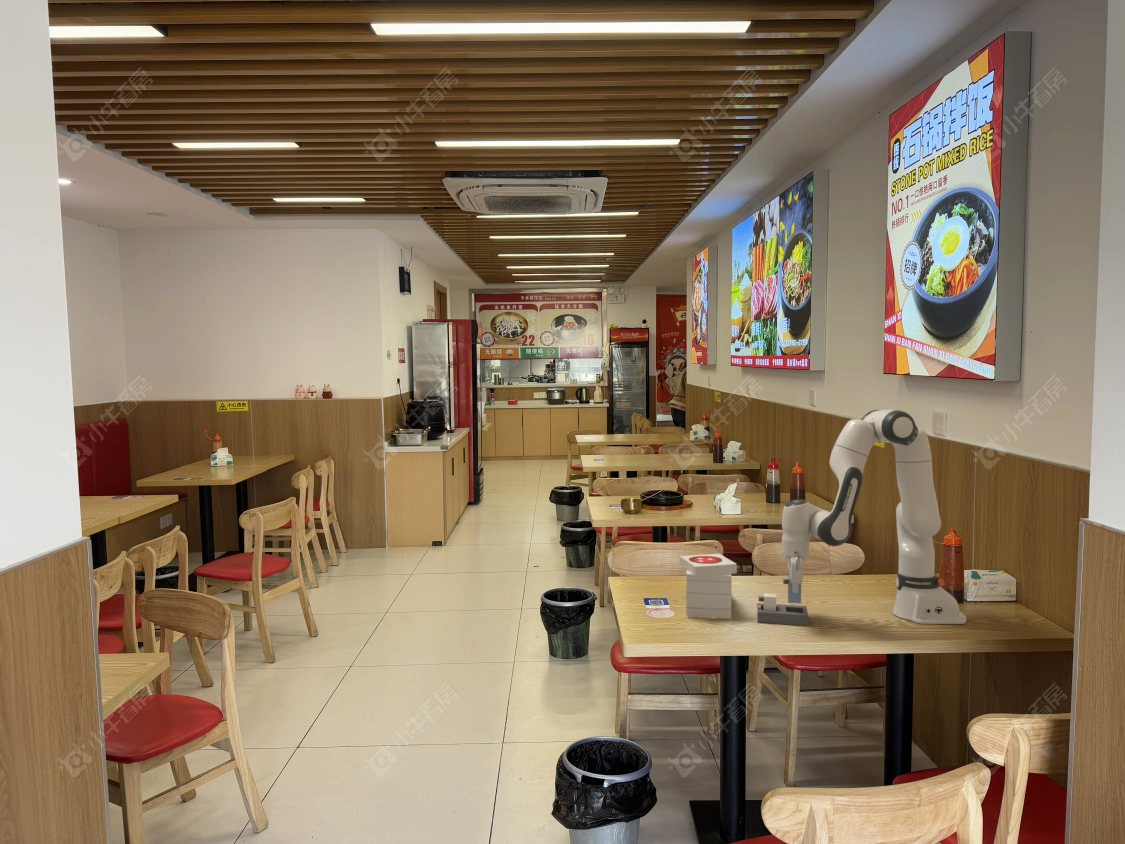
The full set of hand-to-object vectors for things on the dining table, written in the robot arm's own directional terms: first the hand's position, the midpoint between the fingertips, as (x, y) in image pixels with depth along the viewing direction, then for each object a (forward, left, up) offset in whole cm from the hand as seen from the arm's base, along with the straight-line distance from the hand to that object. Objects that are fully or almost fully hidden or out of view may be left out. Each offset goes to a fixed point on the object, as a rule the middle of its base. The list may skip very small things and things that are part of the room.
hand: (794, 589), depth 255 cm
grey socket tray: (+4, 0, -10) cm, 11 cm away
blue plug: (0, 0, -4) cm, 4 cm away
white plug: (+8, 0, -10) cm, 13 cm away
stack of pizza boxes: (+29, -9, -11) cm, 32 cm away
